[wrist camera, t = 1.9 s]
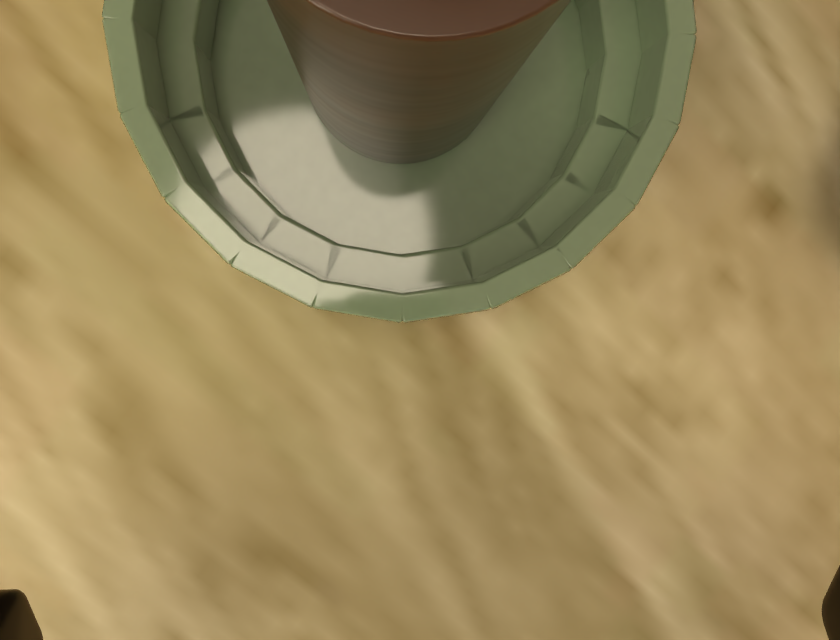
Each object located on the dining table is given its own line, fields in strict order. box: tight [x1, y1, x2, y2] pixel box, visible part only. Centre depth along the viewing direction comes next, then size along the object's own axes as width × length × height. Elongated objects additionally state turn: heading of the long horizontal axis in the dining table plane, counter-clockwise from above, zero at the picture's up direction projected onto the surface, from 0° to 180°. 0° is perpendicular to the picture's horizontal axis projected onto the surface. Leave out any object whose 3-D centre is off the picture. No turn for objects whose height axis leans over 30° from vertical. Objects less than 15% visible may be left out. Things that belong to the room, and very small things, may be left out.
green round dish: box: [102, 0, 697, 323], centre depth 18 cm, size 12×12×4 cm
